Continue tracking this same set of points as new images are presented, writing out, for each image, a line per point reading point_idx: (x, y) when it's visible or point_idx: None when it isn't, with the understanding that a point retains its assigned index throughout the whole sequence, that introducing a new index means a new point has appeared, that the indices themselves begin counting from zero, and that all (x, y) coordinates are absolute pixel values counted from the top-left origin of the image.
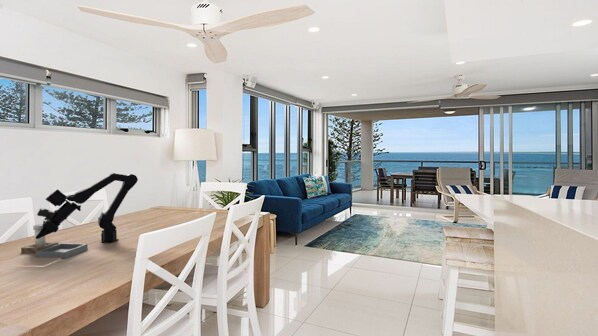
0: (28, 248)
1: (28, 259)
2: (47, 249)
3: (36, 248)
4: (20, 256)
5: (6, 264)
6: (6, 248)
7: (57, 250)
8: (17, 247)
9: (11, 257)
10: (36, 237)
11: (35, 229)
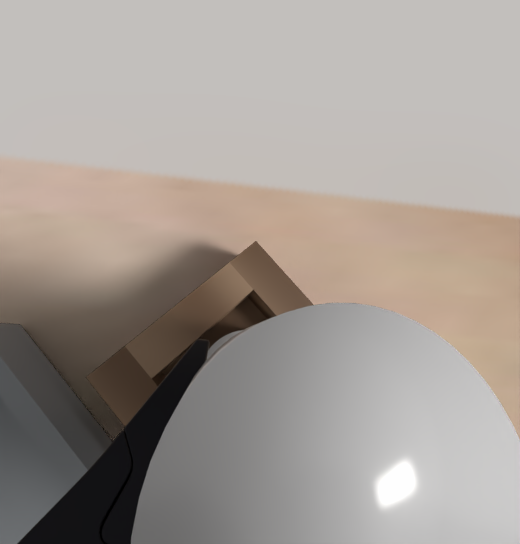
0: (202, 285)
1: (46, 279)
2: (37, 431)
3: (133, 339)
4: (194, 248)
5: (37, 165)
6: (462, 214)
7: None
8: (456, 260)
9: (212, 207)
10: (191, 352)
11: (216, 350)
